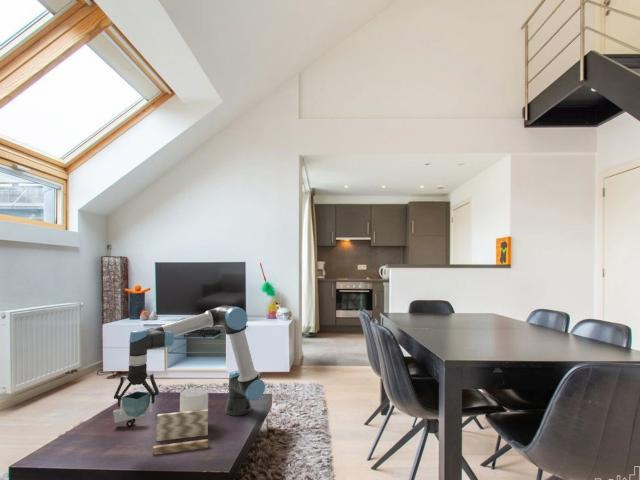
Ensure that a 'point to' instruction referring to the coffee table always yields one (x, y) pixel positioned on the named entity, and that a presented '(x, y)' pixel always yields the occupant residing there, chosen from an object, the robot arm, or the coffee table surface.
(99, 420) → the coffee table surface
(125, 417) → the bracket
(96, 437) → the coffee table surface
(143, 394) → the flower pot
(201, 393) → the container
